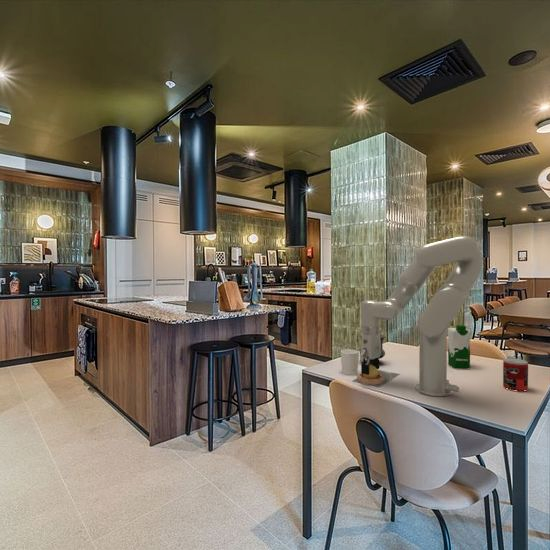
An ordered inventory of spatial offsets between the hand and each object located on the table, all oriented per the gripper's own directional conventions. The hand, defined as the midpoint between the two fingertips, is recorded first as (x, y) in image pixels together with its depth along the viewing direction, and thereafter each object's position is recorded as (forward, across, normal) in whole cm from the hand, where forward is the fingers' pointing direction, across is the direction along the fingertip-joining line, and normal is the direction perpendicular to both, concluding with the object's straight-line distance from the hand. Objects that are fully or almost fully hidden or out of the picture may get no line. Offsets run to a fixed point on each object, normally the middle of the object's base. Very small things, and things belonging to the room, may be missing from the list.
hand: (370, 371), depth 144 cm
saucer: (+4, 0, 0) cm, 4 cm away
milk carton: (+5, +47, -23) cm, 53 cm away
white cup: (+5, +5, +12) cm, 14 cm away
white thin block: (+4, +6, 0) cm, 8 cm away
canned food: (+5, +28, -47) cm, 55 cm away
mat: (+4, +6, 0) cm, 8 cm away
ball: (+4, 0, 0) cm, 4 cm away
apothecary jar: (+5, +26, +11) cm, 29 cm away
